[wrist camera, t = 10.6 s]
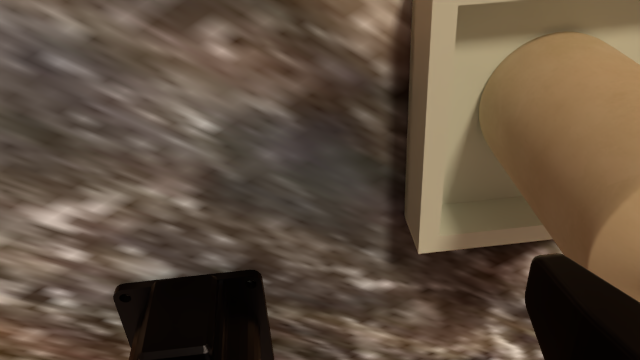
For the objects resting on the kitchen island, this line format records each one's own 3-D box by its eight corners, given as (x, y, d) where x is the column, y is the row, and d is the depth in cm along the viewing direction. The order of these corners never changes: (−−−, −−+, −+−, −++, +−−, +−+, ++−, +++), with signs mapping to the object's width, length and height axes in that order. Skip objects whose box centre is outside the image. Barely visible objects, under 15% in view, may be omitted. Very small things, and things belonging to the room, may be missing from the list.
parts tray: (639, 191, 25) (674, 226, 23) (404, 216, 25) (418, 253, 23) (719, -64, 19) (776, -48, 17) (413, -39, 19) (433, -20, 17)
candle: (585, 166, 23) (768, 363, 15) (459, 156, 23) (580, 360, 14) (644, 37, 21) (911, 193, 12) (502, 20, 20) (685, 178, 11)
